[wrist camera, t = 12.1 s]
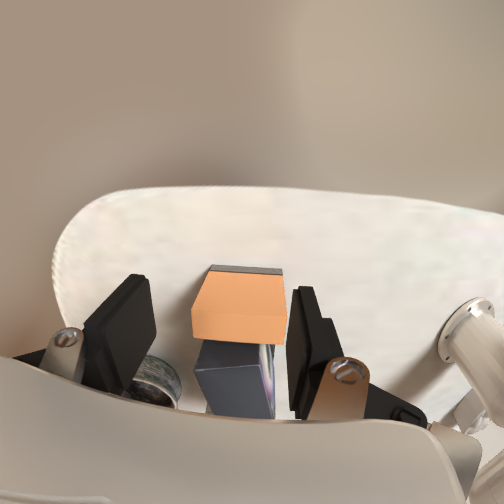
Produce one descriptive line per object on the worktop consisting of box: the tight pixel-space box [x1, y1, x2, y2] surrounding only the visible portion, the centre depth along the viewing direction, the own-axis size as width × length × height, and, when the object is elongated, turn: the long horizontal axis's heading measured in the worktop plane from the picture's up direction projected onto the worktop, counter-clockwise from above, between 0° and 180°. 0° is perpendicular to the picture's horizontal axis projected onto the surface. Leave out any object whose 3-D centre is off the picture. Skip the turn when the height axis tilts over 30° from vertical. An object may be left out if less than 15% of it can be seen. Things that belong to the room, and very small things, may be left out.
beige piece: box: [453, 388, 492, 435], centre depth 36 cm, size 10×13×9 cm
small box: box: [193, 339, 275, 420], centre depth 28 cm, size 11×6×10 cm, turn 11°
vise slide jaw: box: [191, 271, 287, 345], centre depth 27 cm, size 8×3×8 cm, turn 88°
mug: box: [117, 356, 181, 409], centre depth 34 cm, size 10×12×10 cm
